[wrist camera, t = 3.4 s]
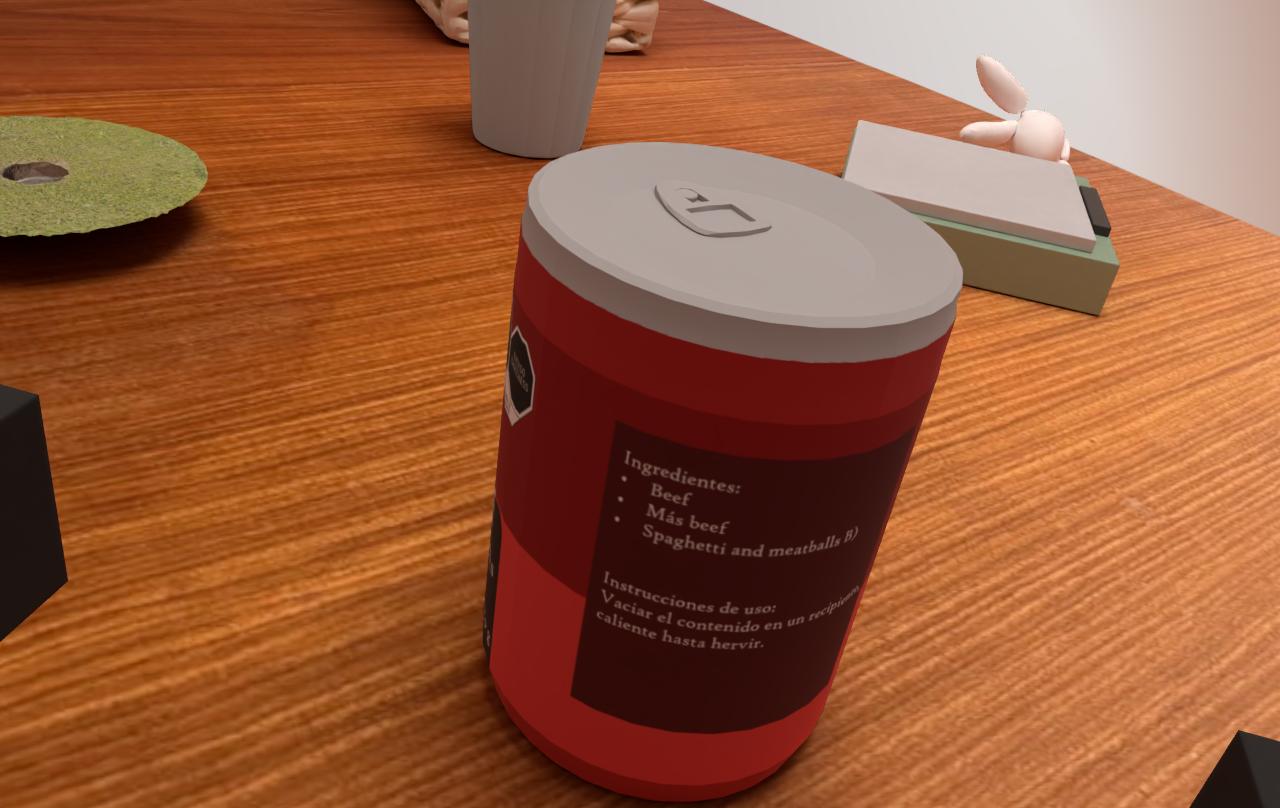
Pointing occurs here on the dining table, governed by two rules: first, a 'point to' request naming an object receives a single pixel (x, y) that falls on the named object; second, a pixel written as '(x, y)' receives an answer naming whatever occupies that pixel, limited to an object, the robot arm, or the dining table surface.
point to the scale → (995, 213)
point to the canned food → (699, 454)
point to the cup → (535, 72)
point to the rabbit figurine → (1028, 133)
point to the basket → (626, 34)
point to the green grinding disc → (89, 175)
